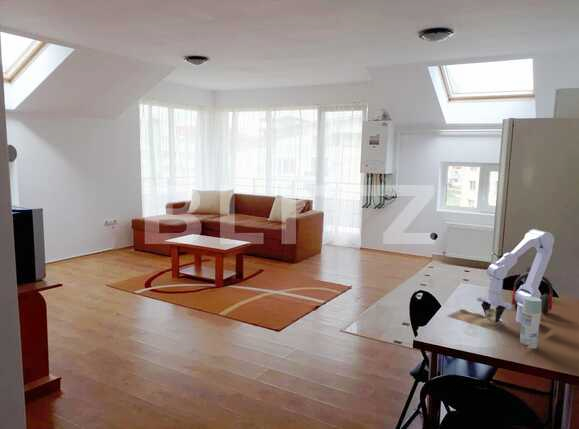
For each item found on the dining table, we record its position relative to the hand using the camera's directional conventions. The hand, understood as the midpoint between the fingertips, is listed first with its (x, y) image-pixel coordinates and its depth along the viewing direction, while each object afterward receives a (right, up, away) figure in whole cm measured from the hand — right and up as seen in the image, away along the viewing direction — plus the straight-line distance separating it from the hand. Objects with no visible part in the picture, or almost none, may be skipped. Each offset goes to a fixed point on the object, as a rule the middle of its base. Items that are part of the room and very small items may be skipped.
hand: (492, 320), depth 204 cm
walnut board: (-5, -2, +5) cm, 8 cm away
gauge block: (0, -1, 0) cm, 1 cm away
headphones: (+29, -1, +22) cm, 36 cm away
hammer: (+36, +1, +41) cm, 54 cm away
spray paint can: (+5, -6, -20) cm, 22 cm away
